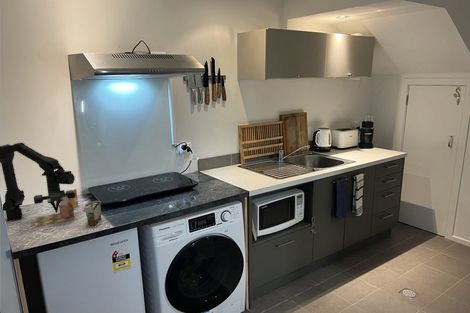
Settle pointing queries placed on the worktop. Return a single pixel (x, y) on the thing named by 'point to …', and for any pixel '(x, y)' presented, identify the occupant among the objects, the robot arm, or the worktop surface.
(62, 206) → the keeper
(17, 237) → the worktop surface
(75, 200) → the small box
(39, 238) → the worktop surface
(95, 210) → the food container
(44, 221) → the rail
